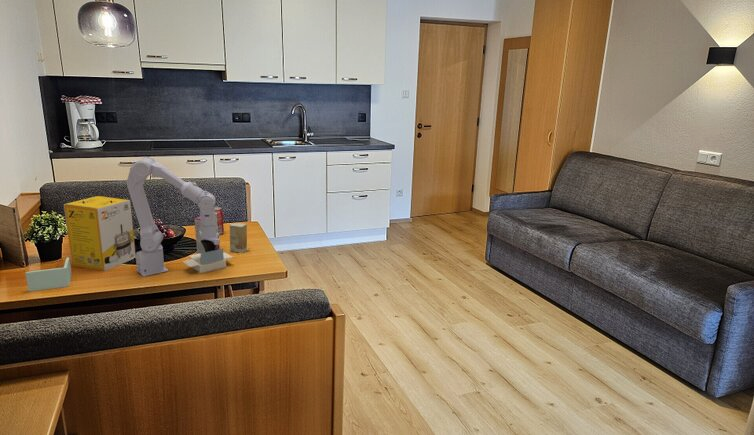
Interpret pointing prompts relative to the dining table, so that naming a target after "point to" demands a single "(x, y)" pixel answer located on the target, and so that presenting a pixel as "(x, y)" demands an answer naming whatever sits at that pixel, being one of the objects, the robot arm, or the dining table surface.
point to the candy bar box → (198, 238)
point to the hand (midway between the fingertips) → (210, 257)
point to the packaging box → (100, 232)
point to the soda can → (220, 219)
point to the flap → (212, 256)
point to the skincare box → (238, 237)
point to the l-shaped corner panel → (49, 278)
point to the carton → (203, 268)
